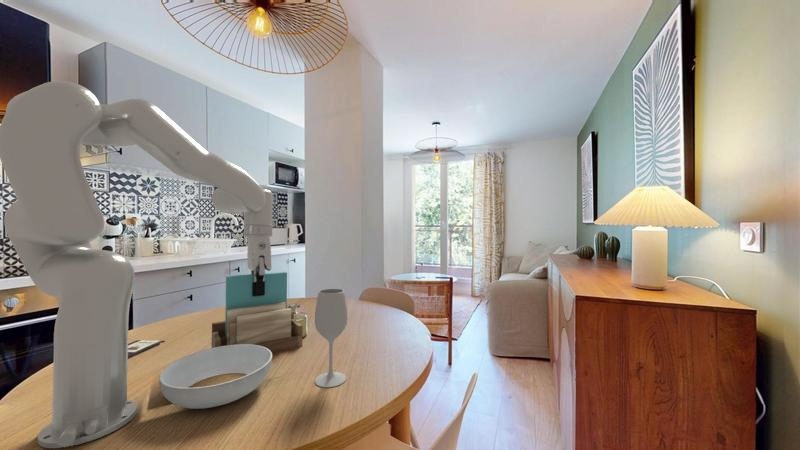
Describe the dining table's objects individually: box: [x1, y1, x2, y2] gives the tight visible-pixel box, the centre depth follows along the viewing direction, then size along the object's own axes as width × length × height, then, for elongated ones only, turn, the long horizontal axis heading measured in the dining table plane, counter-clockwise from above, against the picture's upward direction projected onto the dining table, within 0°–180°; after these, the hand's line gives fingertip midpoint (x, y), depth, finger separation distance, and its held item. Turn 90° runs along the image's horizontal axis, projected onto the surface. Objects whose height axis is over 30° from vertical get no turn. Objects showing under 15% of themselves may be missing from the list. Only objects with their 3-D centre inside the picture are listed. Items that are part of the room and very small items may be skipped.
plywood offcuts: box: [227, 302, 292, 345], centre depth 85 cm, size 3×16×12 cm, turn 126°
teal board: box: [224, 271, 288, 337], centre depth 89 cm, size 2×16×21 cm, turn 126°
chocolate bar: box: [128, 339, 166, 360], centre depth 87 cm, size 9×1×18 cm
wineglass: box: [314, 288, 348, 389], centre depth 73 cm, size 8×8×21 cm
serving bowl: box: [158, 344, 273, 410], centre depth 66 cm, size 21×21×7 cm
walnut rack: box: [211, 310, 303, 354], centre depth 87 cm, size 10×22×10 cm, turn 126°
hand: (257, 294), depth 89 cm, fingers closed on teal board, 2 cm apart
